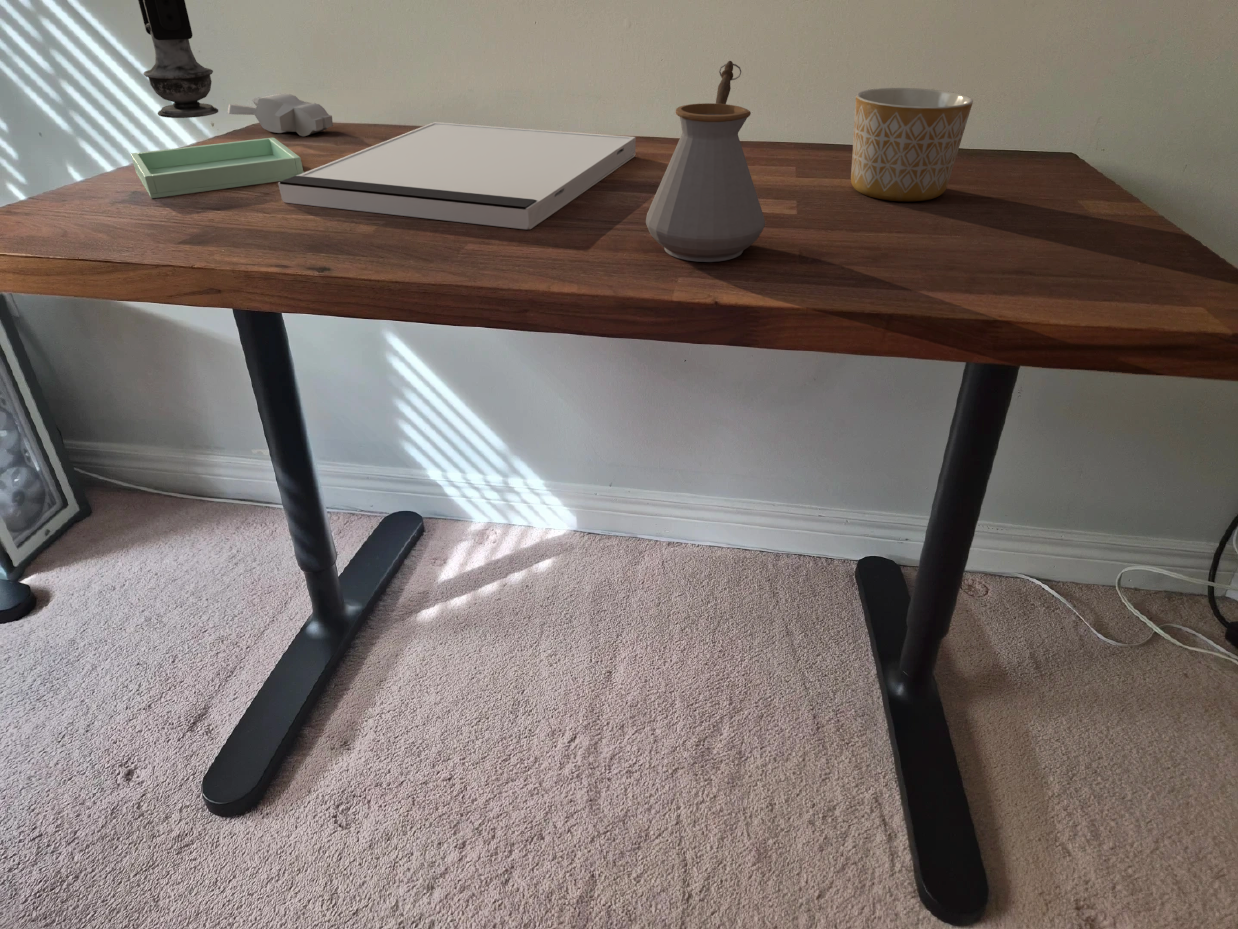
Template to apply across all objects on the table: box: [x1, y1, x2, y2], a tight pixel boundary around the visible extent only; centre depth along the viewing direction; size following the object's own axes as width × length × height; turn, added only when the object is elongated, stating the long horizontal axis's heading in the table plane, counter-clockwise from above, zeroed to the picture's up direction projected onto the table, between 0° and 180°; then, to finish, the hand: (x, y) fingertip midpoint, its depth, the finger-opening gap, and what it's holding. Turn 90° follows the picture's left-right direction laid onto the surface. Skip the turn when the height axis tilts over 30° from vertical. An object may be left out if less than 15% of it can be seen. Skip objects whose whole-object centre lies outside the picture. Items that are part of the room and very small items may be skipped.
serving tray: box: [130, 137, 305, 199], centre depth 105 cm, size 18×14×2 cm
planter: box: [850, 87, 974, 203], centre depth 97 cm, size 13×13×10 cm
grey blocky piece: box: [227, 92, 334, 137], centre depth 127 cm, size 10×5×15 cm
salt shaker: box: [143, 0, 219, 119], centre depth 76 cm, size 6×6×12 cm
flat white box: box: [277, 121, 637, 230], centre depth 104 cm, size 35×2×31 cm
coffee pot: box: [645, 60, 766, 263], centre depth 82 cm, size 21×12×15 cm, turn 167°
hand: (169, 34), depth 76 cm, fingers closed on salt shaker, 3 cm apart
